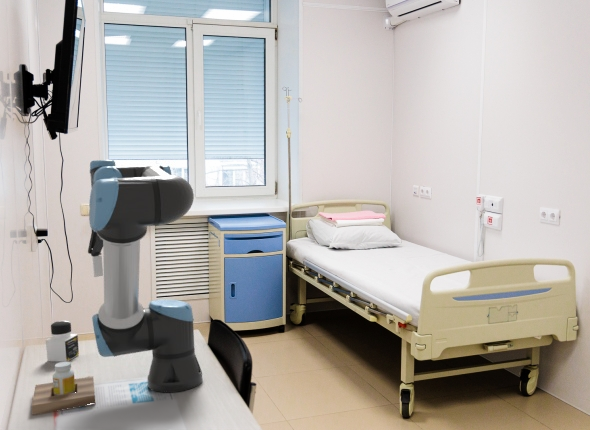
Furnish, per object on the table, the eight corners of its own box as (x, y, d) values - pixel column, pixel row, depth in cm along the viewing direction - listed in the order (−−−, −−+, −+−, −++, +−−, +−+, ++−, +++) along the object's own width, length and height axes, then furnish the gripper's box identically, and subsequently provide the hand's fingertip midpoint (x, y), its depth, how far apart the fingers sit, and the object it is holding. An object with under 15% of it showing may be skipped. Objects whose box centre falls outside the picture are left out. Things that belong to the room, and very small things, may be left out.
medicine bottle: (67, 362, 189) (64, 325, 188) (46, 361, 190) (44, 325, 189) (79, 355, 196) (76, 319, 195) (60, 354, 197) (57, 319, 196)
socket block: (95, 404, 154) (94, 395, 154) (32, 415, 149) (31, 405, 149) (93, 384, 168) (93, 376, 168) (36, 393, 163) (35, 385, 163)
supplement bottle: (51, 403, 156) (48, 368, 155) (57, 395, 161) (55, 361, 160) (72, 402, 156) (70, 366, 155) (78, 394, 162) (75, 360, 161)
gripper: (139, 210, 177) (144, 280, 179) (95, 208, 194) (99, 272, 196) (117, 212, 172) (122, 284, 174) (73, 210, 188) (78, 276, 190)
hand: (110, 278), depth 185 cm, fingers open, 13 cm apart
